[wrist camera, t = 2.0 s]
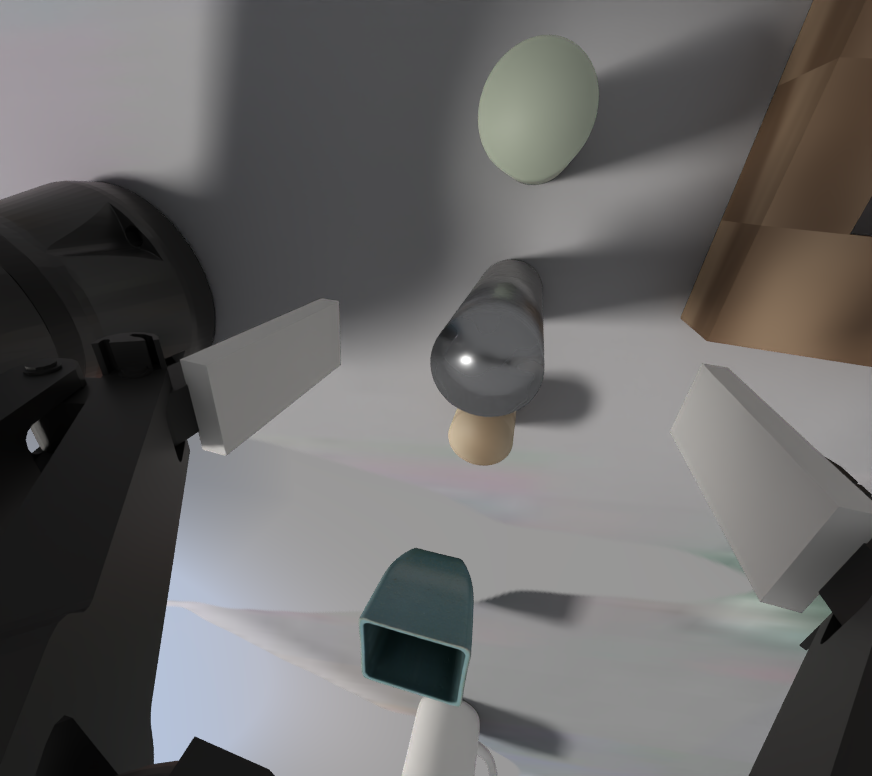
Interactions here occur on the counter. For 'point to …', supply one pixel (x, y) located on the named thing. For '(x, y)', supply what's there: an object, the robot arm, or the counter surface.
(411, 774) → the cup
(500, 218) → the counter surface
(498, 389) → the long pin
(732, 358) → the counter surface
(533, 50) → the medium pin
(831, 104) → the hole board
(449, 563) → the flower pot
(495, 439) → the short pin
